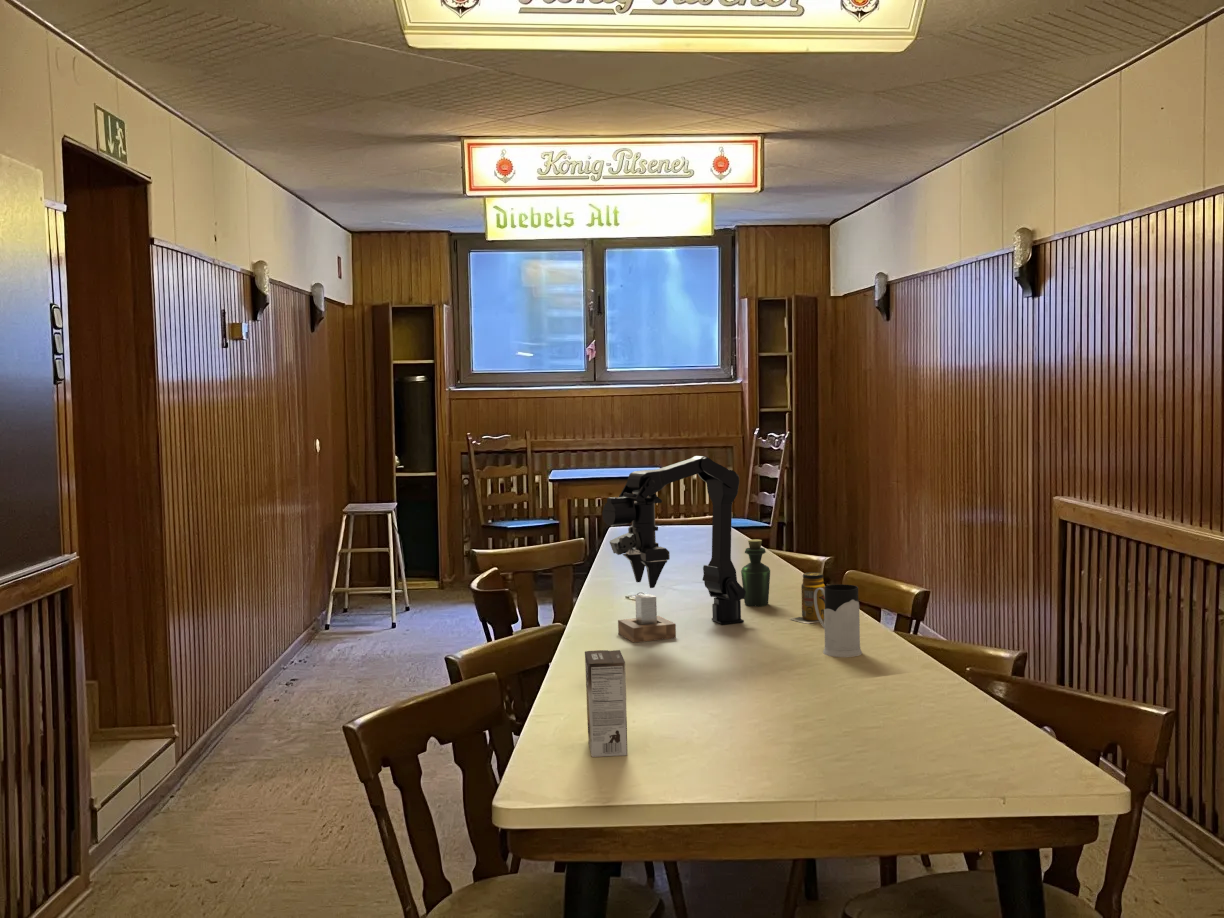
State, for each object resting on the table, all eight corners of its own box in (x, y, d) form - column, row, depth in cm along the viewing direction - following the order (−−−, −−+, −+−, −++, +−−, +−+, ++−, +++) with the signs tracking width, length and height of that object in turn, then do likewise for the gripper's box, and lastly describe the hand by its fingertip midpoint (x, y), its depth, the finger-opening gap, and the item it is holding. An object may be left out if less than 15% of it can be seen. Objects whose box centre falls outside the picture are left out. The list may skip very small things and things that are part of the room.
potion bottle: (770, 601, 321) (769, 538, 320) (771, 607, 313) (770, 542, 312) (741, 601, 322) (740, 538, 321) (742, 607, 314) (740, 542, 313)
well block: (659, 629, 289) (658, 615, 288) (675, 637, 278) (675, 623, 278) (618, 633, 285) (618, 619, 285) (634, 642, 275) (633, 628, 274)
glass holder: (839, 659, 252) (838, 592, 251) (800, 646, 265) (799, 583, 264) (870, 653, 256) (869, 587, 255) (830, 642, 269) (829, 579, 268)
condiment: (832, 619, 294) (831, 573, 293) (808, 624, 289) (807, 577, 289) (813, 615, 300) (812, 570, 299) (789, 619, 296) (788, 574, 295)
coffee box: (587, 741, 199) (584, 650, 198) (623, 739, 200) (620, 648, 199) (590, 757, 190) (587, 663, 189) (628, 755, 191) (625, 661, 190)
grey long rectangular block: (651, 633, 284) (650, 594, 284) (657, 636, 280) (656, 596, 280) (636, 635, 283) (635, 595, 282) (642, 638, 279) (641, 598, 278)
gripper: (600, 520, 286) (601, 582, 287) (626, 528, 268) (627, 594, 269) (641, 517, 290) (643, 578, 291) (669, 525, 272) (671, 589, 273)
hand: (645, 585), depth 281 cm, fingers open, 9 cm apart
